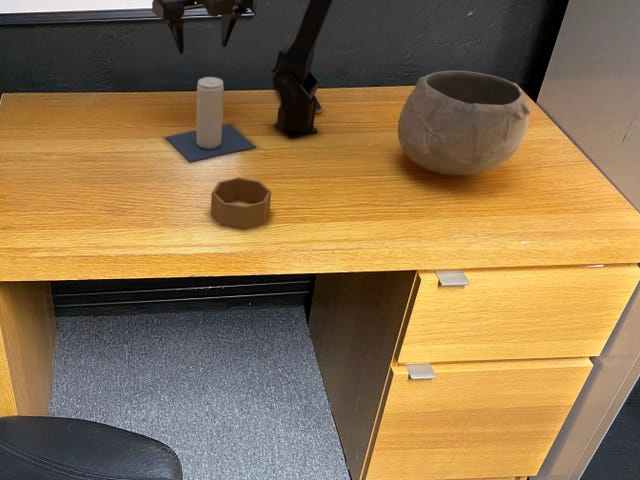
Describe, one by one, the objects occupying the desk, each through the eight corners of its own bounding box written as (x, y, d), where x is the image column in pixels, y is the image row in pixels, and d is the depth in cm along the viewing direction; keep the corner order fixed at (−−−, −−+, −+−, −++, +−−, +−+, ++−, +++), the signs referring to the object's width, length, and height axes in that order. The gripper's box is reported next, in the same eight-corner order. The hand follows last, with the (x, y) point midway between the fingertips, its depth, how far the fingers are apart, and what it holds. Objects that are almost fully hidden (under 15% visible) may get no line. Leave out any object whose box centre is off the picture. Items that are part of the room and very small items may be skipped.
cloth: (228, 125, 139) (228, 123, 139) (255, 147, 132) (255, 146, 132) (165, 138, 135) (165, 136, 135) (189, 162, 128) (189, 161, 128)
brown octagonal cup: (250, 195, 119) (252, 173, 116) (277, 220, 113) (279, 198, 110) (203, 206, 116) (204, 185, 114) (228, 233, 111) (229, 211, 108)
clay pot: (374, 144, 133) (391, 64, 123) (478, 138, 135) (503, 59, 124) (414, 200, 118) (437, 114, 108) (531, 192, 120) (564, 107, 109)
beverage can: (207, 152, 130) (209, 89, 122) (190, 143, 133) (191, 81, 124) (226, 145, 132) (229, 82, 124) (209, 136, 135) (211, 74, 127)
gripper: (176, -23, 115) (176, 72, 126) (273, -36, 121) (265, 56, 131) (149, -39, 122) (152, 52, 133) (242, -51, 128) (237, 38, 139)
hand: (202, 50), depth 134 cm, fingers open, 9 cm apart
